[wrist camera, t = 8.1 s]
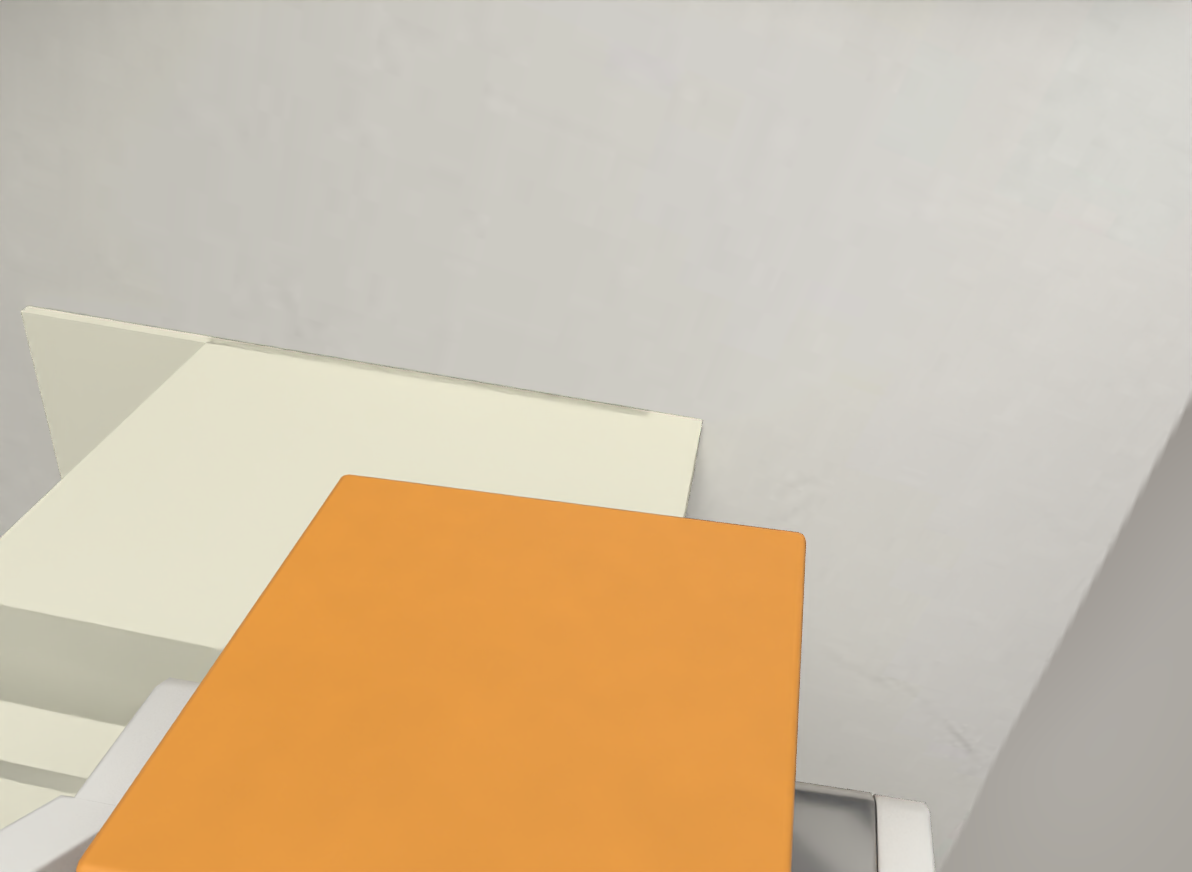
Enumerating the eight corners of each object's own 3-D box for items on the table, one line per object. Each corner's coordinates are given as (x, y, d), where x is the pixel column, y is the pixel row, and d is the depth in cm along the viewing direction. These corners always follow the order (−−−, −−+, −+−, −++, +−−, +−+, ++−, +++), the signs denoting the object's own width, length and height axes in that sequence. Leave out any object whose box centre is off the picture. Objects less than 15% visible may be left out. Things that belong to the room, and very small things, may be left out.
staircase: (106, 634, 53) (-530, 1408, 28) (28, 306, 43) (-1065, 1062, 18) (649, 745, 50) (468, 1721, 25) (702, 419, 40) (486, 1511, 15)
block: (342, 470, 12) (66, 869, 7) (807, 530, 11) (786, 1009, 7) (384, 775, 14) (199, 1191, 10) (758, 839, 14) (721, 1316, 9)
